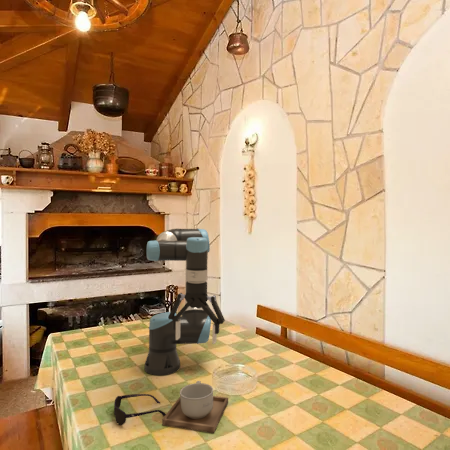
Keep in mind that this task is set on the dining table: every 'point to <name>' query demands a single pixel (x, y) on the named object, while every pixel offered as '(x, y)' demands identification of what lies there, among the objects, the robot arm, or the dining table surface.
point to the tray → (204, 424)
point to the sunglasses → (122, 416)
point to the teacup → (196, 400)
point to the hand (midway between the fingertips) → (195, 340)
